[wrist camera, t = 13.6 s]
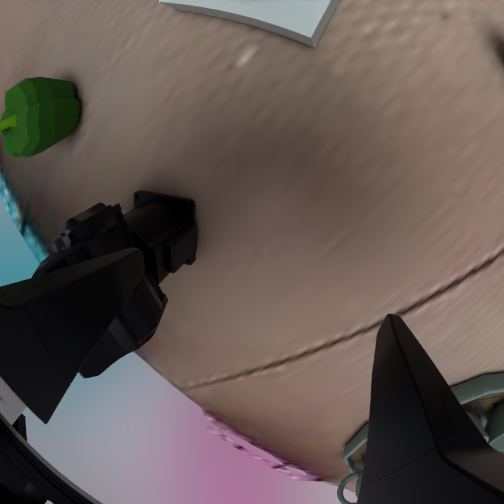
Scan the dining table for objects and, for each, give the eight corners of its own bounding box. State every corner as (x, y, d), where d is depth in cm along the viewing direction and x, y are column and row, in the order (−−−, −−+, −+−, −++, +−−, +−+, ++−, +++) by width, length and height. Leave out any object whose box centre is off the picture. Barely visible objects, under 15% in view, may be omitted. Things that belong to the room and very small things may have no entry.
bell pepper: (92, 68, 19) (8, 76, 11) (89, 143, 24) (10, 172, 15) (50, 78, 21) (-19, 92, 12) (49, 141, 25) (-16, 166, 17)
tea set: (536, 416, 23) (544, 475, 10) (390, 476, 45) (383, 530, 31) (544, 317, 17) (587, 425, 3) (301, 427, 38) (275, 515, 24)
